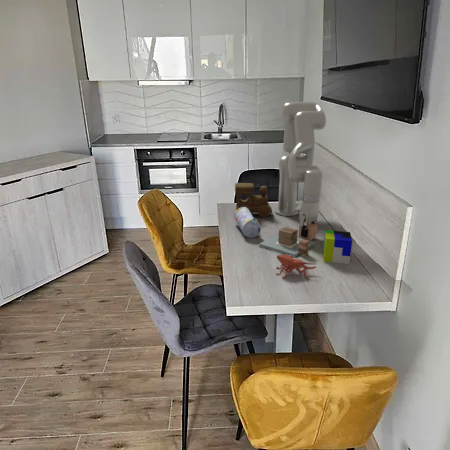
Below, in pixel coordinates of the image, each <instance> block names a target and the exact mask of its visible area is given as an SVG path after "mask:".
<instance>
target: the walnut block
mask: <svg viewBox="0 0 450 450" xmlns="http://www.w3.org/2000/svg"><path fill="white" fill-rule="evenodd" d="M278 234H279V238H278V243H280V244H284V245H287V246H291V245H293V244H295V243H297V237H298V235H299V229H297V228H292V227H289V226H285V227H282V228H280V229H279V230H278ZM294 240H295V243H294Z"/></svg>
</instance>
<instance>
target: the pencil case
mask: <svg viewBox="0 0 450 450" xmlns="http://www.w3.org/2000/svg"><path fill="white" fill-rule="evenodd" d="M252 214H253V213H250V211H249V209H248V208H246V207H241V208H239V209H237V210H236V209H235V212H234V215H233V218H234V220H235V222H236V224H237V225H238V227H239V228H240V230H241V231H242V234H243V235H244V236H245V237H247V238H256V237H257V236H259V235H260V232H261V225H260V222H259V220H258V219H257V218H255V217H254V215H252Z"/></svg>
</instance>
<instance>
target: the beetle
mask: <svg viewBox="0 0 450 450" xmlns="http://www.w3.org/2000/svg"><path fill="white" fill-rule="evenodd" d="M294 243H295V240H294ZM294 251H295V246H294ZM276 259H277V260H278V261H279V263H281V265H280V266H277V267H276V270H277V269H278V270H280V271H279V273H277V272H276V273H275V274H276V276H280V275H281V274H282V272H283V270H284V271H285V274H284V276H282V277H281V279H282V280H285V279H287V276H288V274H291V273H292V272H293V270H294V269H295V270H296V272H298V274H302V273H303V276H304V279H306V278H307V279H306V280H309V279H310V277H309V276H308V277H307V275H306V270H314V269H317V266H315V263H312V262H311V263H309V262H305V261H303V260H301V259H299V258H298V259H296V258H294V257H292V256H289V255H286V254H277V255H276ZM308 265H314V266H308ZM308 278H309V279H308Z"/></svg>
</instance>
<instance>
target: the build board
mask: <svg viewBox="0 0 450 450" xmlns="http://www.w3.org/2000/svg"><path fill="white" fill-rule="evenodd" d="M278 238H279V233H278V234H276V235H274V236H272V237H270V238H268V239H266V240H264V241H262V242H260V243H259V245H258V246H259V247H261V248H264V249H267V250H270V251H274V252H277V253H280V254H282V255H286V254H287V255H291V257H292V256H294V257H293V258H296V257H298V256H300V255H299V252H298V249H299V241H300V240H302V238H299V237H298V236H297V243H295V244H293V245H291V246H287V245H284V244H280V243H278ZM304 240H306V239H304ZM308 241H309V248H308V250H309V249H311V248H312V247H314V246H316V243H317V242H316V241H314V240H313V241H312V240H308ZM294 246H295V251H294ZM297 255H298V256H297ZM295 256H296V257H295Z"/></svg>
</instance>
